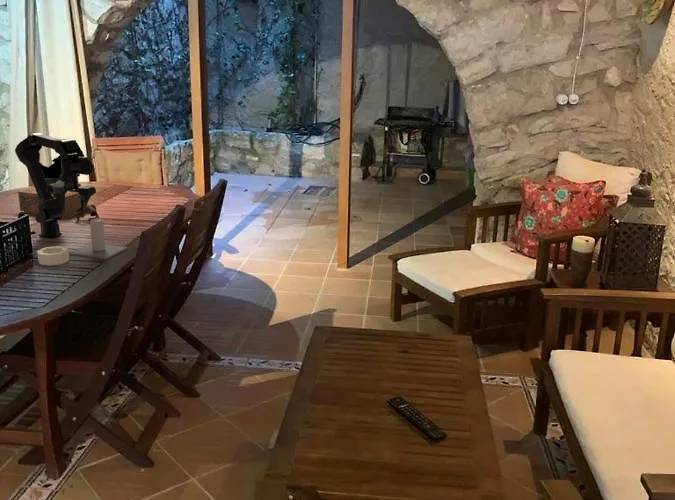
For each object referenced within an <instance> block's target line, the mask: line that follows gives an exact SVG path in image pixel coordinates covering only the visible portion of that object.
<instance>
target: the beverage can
mask: <svg viewBox="0 0 675 500" xmlns="http://www.w3.org/2000/svg"><path fill="white" fill-rule="evenodd" d="M104 224H105V223H104V220H103V218H100V219H98V218H97V219H95V218H92V219H90V220H89V226H90V227H89V228H90V240H91V243H92V250H93V251H96V252H100V251H104V250H105V245H106V239H105V238H106V237H105V227H104Z"/></svg>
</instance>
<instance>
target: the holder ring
mask: <svg viewBox="0 0 675 500" xmlns="http://www.w3.org/2000/svg"><path fill="white" fill-rule="evenodd" d="M36 254H37V260H38V261H37V262H38V263H39V265H41V266H49V267H50V266H57V265H63V264H65V263H67V262H69V261H70V257H69V256H70V254H69V250H68V248H67V247H66V246H58V245H55V246H47V247H43V248H40V249H38V250H36Z"/></svg>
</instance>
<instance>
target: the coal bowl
mask: <svg viewBox="0 0 675 500" xmlns="http://www.w3.org/2000/svg"><path fill="white" fill-rule="evenodd" d="M51 162H53V163H52V164H51V165H49V166H46V165H43V164H42V163H41V158H40V159H39V164H40V167H41V169H42V172H43V174H44V177H45V180H46V182H47V185H50V184H53V183H56V182H57V181H59V180H60V175H62V168H61V160H58V159H57V157H55V158H53V159H52V160H51ZM30 180H31V181H32V179H31V178H30Z"/></svg>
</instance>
